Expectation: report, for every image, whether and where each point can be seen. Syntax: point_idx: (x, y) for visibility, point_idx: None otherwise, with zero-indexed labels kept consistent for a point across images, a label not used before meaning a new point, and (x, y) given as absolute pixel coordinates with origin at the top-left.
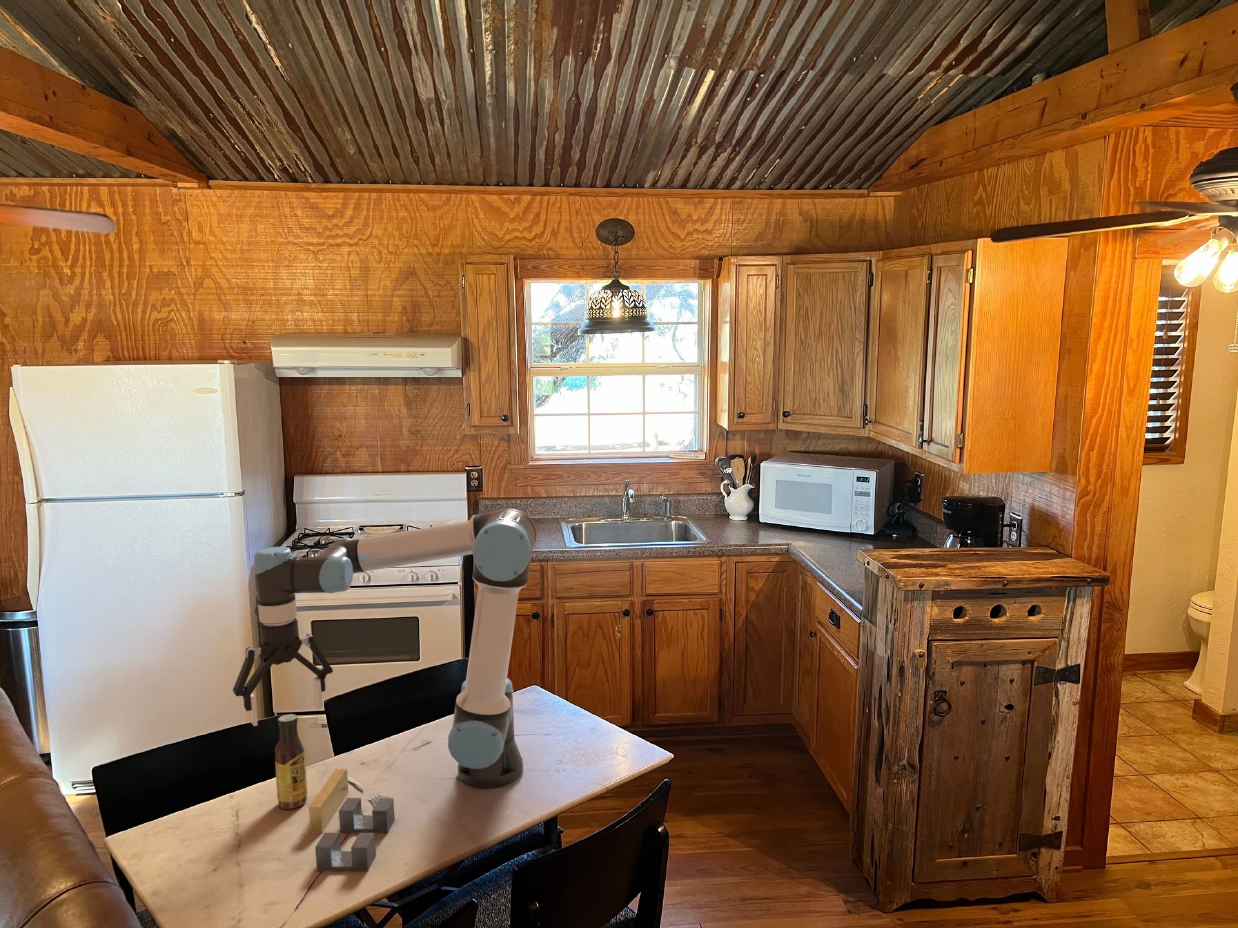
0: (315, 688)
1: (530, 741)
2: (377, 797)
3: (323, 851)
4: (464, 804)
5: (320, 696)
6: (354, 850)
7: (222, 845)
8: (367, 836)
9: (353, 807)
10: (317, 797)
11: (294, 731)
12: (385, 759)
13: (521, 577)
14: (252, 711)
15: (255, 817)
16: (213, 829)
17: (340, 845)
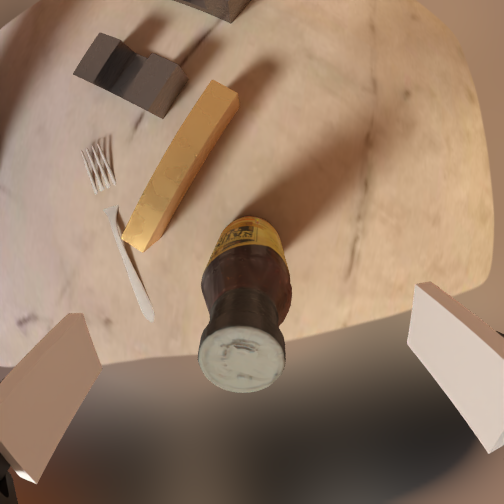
0: (47, 410)
1: None
2: (97, 173)
3: None
4: (9, 96)
5: (39, 347)
6: None
7: (392, 160)
8: None
9: (147, 64)
10: (208, 127)
11: (223, 304)
12: (72, 312)
13: None
14: (479, 318)
15: (326, 227)
16: (395, 226)
17: (205, 4)
